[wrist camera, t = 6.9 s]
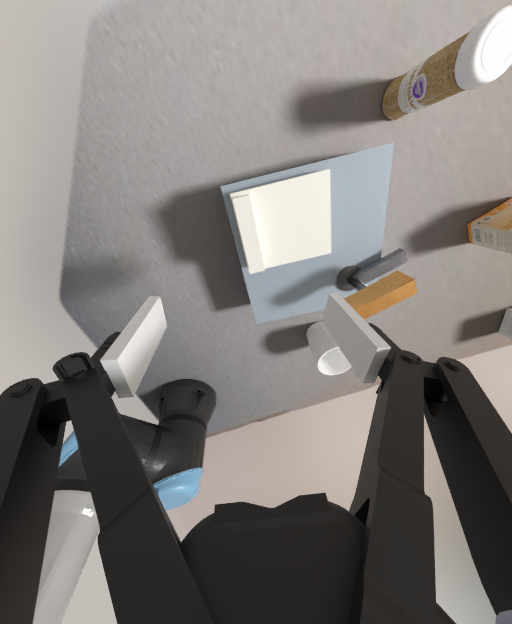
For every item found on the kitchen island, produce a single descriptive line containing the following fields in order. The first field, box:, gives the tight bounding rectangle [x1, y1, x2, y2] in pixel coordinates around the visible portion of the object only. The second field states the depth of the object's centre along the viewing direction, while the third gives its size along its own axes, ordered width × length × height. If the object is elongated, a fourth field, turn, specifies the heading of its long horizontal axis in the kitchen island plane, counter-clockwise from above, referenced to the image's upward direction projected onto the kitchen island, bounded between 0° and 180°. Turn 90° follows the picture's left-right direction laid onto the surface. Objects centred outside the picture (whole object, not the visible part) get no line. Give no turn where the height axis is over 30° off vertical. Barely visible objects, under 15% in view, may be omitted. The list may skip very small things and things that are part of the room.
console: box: [220, 143, 394, 325], centre depth 35 cm, size 22×22×8 cm
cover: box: [230, 169, 331, 274], centre depth 27 cm, size 12×10×4 cm
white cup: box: [306, 321, 351, 375], centre depth 46 cm, size 8×8×10 cm
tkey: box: [344, 248, 417, 319], centre depth 30 cm, size 2×12×8 cm, turn 121°
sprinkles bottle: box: [382, 5, 512, 120], centre depth 24 cm, size 5×5×14 cm
